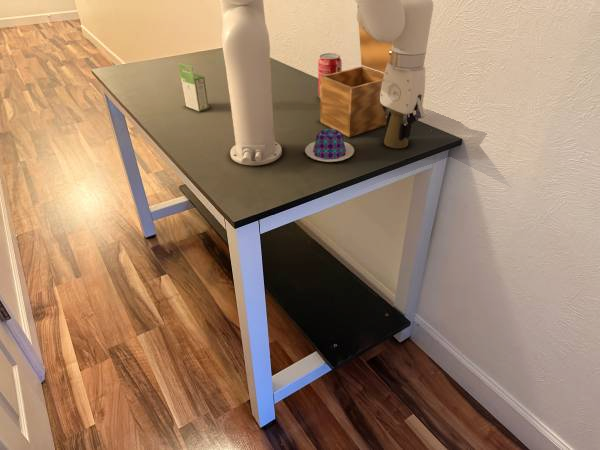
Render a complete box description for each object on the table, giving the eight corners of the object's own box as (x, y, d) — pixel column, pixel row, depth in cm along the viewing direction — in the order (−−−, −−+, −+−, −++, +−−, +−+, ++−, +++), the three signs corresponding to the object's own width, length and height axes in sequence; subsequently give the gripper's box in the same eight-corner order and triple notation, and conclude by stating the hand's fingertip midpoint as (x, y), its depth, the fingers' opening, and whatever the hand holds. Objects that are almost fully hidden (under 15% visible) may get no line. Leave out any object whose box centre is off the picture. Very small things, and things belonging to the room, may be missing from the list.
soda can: (339, 102, 129) (340, 59, 122) (316, 101, 131) (316, 58, 123) (342, 95, 135) (343, 52, 127) (320, 93, 136) (320, 52, 128)
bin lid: (392, 12, 97) (411, 4, 99) (357, 5, 106) (374, -2, 108) (393, 75, 108) (410, 67, 110) (361, 64, 116) (377, 57, 118)
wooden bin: (349, 137, 109) (351, 88, 102) (320, 122, 118) (320, 76, 110) (389, 123, 116) (394, 77, 108) (359, 110, 124) (362, 66, 116)
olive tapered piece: (411, 141, 106) (418, 99, 100) (402, 150, 102) (409, 106, 96) (389, 136, 109) (394, 94, 102) (380, 144, 105) (384, 102, 98)
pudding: (351, 141, 107) (352, 122, 104) (356, 163, 97) (357, 143, 94) (304, 142, 107) (304, 123, 104) (305, 165, 98) (305, 144, 94)
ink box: (209, 108, 128) (202, 63, 120) (199, 112, 126) (191, 66, 118) (196, 103, 132) (188, 59, 124) (185, 106, 129) (177, 62, 121)
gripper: (369, 54, 97) (363, 128, 108) (424, 71, 86) (411, 151, 97) (392, 49, 101) (384, 121, 112) (448, 65, 90) (433, 143, 100)
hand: (397, 134), depth 104 cm, fingers closed on olive tapered piece, 4 cm apart
